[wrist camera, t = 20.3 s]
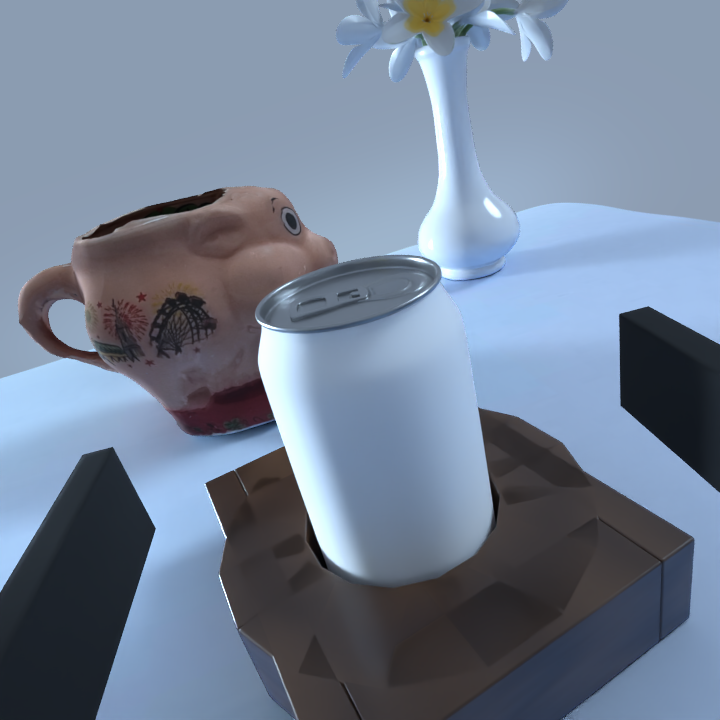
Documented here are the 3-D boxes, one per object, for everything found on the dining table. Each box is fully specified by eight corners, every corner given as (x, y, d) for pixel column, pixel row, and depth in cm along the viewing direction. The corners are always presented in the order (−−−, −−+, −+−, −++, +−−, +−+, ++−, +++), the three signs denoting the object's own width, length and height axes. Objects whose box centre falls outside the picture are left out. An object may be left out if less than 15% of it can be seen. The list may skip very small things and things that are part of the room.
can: (530, 621, 18) (489, 292, 13) (345, 670, 18) (229, 360, 13) (471, 497, 24) (427, 237, 19) (332, 534, 24) (248, 283, 19)
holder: (340, 894, 13) (301, 823, 12) (216, 548, 25) (189, 489, 23) (704, 607, 17) (711, 527, 16) (450, 427, 29) (440, 372, 28)
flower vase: (603, 247, 48) (594, -99, 37) (426, 315, 43) (357, -59, 33) (512, 229, 59) (485, -40, 49) (363, 282, 55) (297, -4, 44)
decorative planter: (51, 507, 31) (-91, 282, 25) (106, 405, 42) (18, 232, 36) (383, 412, 32) (324, 173, 26) (352, 337, 43) (306, 157, 37)
